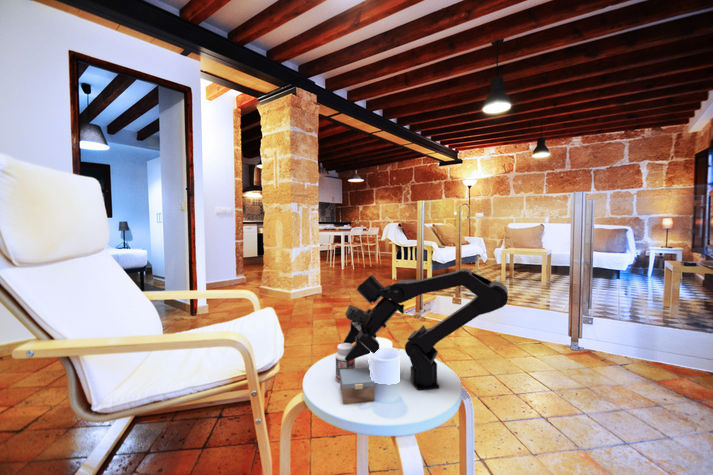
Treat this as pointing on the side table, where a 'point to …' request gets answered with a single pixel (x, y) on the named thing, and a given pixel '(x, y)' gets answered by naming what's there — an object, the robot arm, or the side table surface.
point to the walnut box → (357, 394)
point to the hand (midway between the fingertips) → (344, 353)
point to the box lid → (356, 378)
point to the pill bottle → (343, 359)
